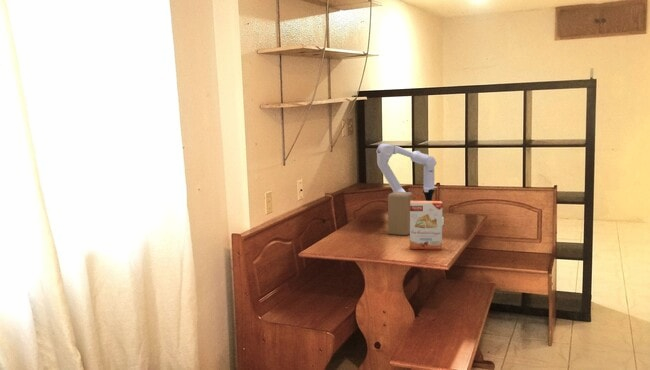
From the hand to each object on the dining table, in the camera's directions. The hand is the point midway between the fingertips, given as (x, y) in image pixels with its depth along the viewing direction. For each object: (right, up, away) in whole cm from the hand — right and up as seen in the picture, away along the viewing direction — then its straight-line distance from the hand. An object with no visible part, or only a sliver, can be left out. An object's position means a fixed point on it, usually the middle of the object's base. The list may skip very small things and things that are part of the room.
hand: (428, 203), depth 319 cm
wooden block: (-19, -14, -27) cm, 36 cm away
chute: (-2, -12, -18) cm, 22 cm away
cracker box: (-12, -18, -58) cm, 62 cm away
